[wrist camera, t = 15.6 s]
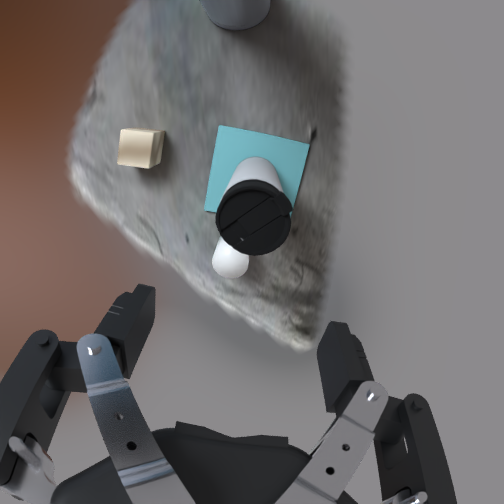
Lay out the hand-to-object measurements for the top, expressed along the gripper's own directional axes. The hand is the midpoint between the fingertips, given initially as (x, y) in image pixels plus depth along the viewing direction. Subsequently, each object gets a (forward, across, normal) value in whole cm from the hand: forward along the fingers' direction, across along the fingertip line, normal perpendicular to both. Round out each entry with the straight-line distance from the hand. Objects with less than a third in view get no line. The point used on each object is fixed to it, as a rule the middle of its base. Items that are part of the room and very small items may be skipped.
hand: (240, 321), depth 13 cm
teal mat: (+32, 0, 0) cm, 32 cm away
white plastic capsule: (+32, +1, +11) cm, 34 cm away
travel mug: (+32, 0, 0) cm, 32 cm away
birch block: (+32, +17, -2) cm, 37 cm away
